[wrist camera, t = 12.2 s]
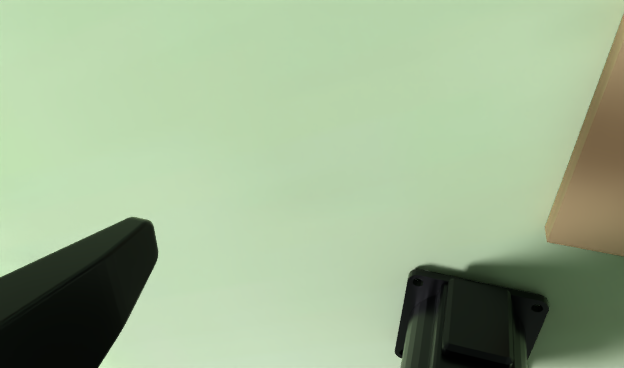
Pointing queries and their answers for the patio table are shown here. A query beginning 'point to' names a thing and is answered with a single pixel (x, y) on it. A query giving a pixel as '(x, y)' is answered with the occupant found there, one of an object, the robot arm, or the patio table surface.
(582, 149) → the chuck stand
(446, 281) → the robot arm
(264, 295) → the patio table surface
